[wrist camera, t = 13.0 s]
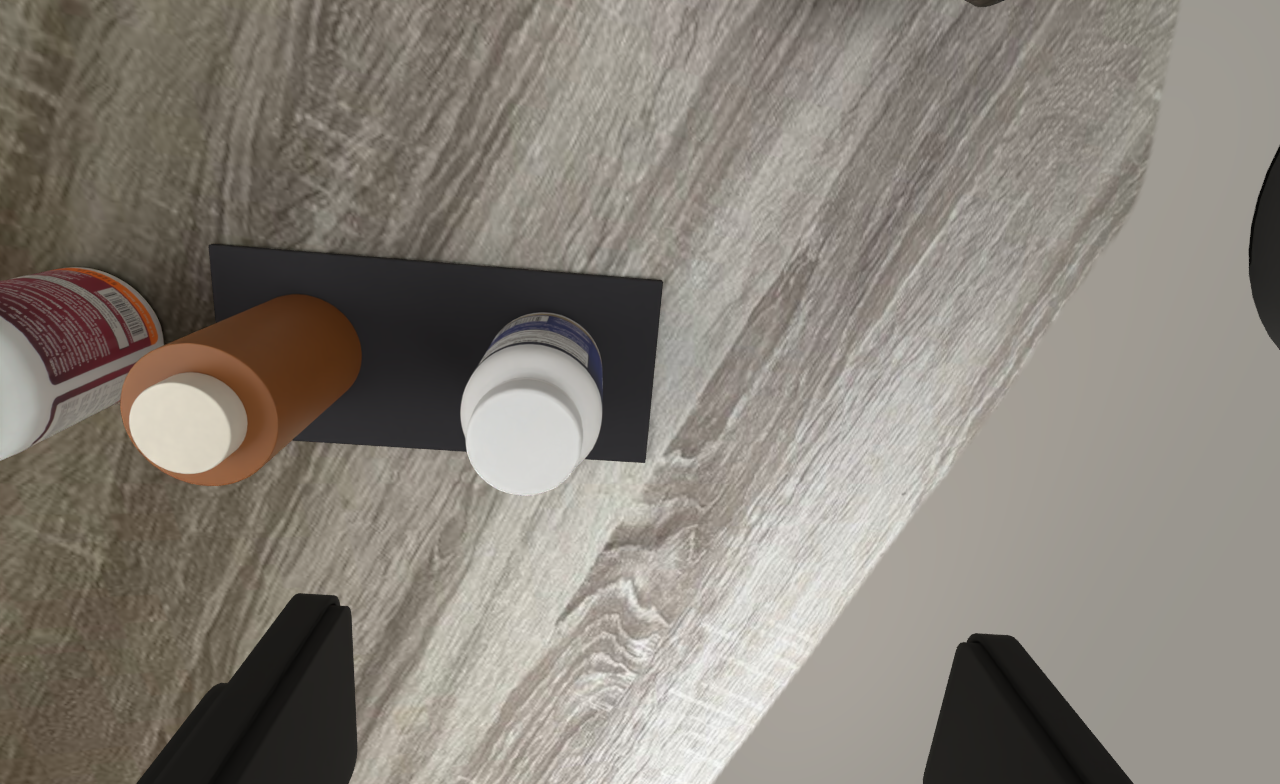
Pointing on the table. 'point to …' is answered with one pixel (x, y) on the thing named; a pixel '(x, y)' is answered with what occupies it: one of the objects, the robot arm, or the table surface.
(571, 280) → the plate
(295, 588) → the table surface
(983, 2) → the alarm clock
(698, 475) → the table surface
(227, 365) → the amber bottle
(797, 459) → the table surface
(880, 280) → the table surface
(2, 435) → the pill bottle
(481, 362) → the pill bottle
